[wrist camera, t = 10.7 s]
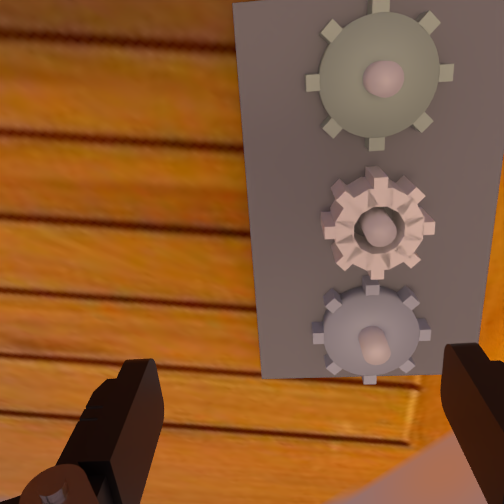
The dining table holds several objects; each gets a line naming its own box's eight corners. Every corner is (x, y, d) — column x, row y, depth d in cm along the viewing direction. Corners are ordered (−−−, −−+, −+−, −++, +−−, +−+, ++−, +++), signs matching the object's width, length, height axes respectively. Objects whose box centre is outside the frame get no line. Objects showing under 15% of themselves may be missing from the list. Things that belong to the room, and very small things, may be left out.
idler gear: (319, 169, 30) (324, 180, 27) (424, 163, 29) (439, 174, 26) (321, 262, 32) (325, 281, 29) (417, 258, 31) (430, 277, 29)
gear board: (234, 6, 28) (225, -5, 23) (514, -20, 26) (563, -36, 22) (262, 367, 37) (260, 410, 33) (466, 361, 36) (494, 405, 32)
